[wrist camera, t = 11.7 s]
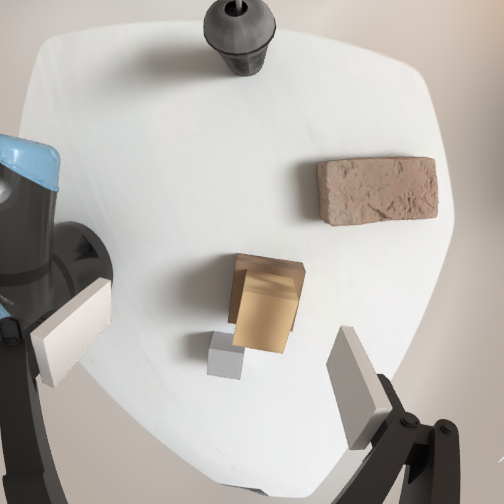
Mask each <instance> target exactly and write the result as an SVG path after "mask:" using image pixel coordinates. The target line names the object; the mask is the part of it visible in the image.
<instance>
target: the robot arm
mask: <svg viewBox="0 0 504 504" xmlns="http://www.w3.org/2000/svg"><path fill="white" fill-rule="evenodd" d="M59 170H60V156H59V153H58V151H57V150H56V149H55V148H53V147H52V146H49V145H46V144H42V143H39V142H35V141H31V140H26V139H22V138H18V137H13V136H8V135H3V134H0V429H1V439H2V448H3V455H4V461H5V467H6V475H4V476H3V479H2V480H3V486H4V491H5V496H6V500H7V504H68V502H67V500H66V497H65V494H64V492H63V489H62V486H61V483H60V480H59V477H58V474H57V471H56V468H55V465H54V461H53V458H52V454H51V450H50V447H49V443H48V439H47V435H46V430H45V426H44V422H43V416H42V411H41V405H40V400H39V394H38V387H37V381H36V379H35V378H36V377H37V375H38V374H39V373H40V376H41V379H42V383H44V384H47V385H49V386H51V387H53V388H56V386H57V385H58V384H59V383H60V381H61V380H62V379H63V378H64V377H65V375H66V374H67V373H68V372H69V371H70V369H71V368H72V367H73V366H74V364H75V363H76V362H77V361H78V360H79V359H80V357H81V356H82V355H83V354H84V353H85V351H86V350H87V349H88V348H89V347H90V346H91V344H92V343H93V342H94V341H95V340H96V339H97V337H98V336H99V335H100V334H101V333H102V332H103V331H104V329H105V328H106V327H107V326H108V325H109V324H110V323H111V288H112V282H113V270H112V264H111V260H110V257H109V254H108V252H107V250H106V248H105V246H104V244H103V243H102V241H101V240H100V238H99V237H98V236H97V235H96V234H95V233H94V232H93V231H92V230H91V229H89V228H88V227H86V226H84V225H82V224H80V223H76V222H65V223H62V224H59V225H56V226H54V215H55V206H56V198H57V192H59V187H58V180H59ZM326 366H327V369H328V373H329V376H330V380H331V383H332V387H333V391H334V394H335V398H336V401H337V405H338V409H339V412H340V416H341V420H342V423H343V427H344V431H345V435H346V439H347V443H348V446H349V450H361V449H363V450H364V449H365V448H366V447H367V446H368V444H369V443H370V441H371V444H372V447H373V448H372V450H371V451H370V452H369V453H368V455H367V456H366V457H365V459H364V460H363V461H362V464H361V465H360V467H359V468H358V470H357V471H356V472H355V474H354V475H353V476H352V478H351V479H350V480H349V482H348V483H347V484H346V486H345V487H344V488H343V489H342V491H341V492H340V493H339V495H338V496H337V497H336V498H335V499H334V501H333V502H332V503H331V504H382V503H383V501H384V500H385V498H386V496H387V494H388V493H389V491H390V489H391V487H392V486H393V484H394V482H395V480H396V478H397V476H398V474H399V472H400V470H401V468H402V466H403V465H404V464H405V465H406V468H405V474H404V480H403V485H402V491H401V495H400V500H399V504H460V449H459V434H458V429H457V427H456V425H455V424H454V423H452V422H451V421H449V420H446V419H440V420H438V421H437V422H436V423H435V424H434V426H428V425H423V424H420V421H419V419H418V418H417V417H416V416H415V415H413V414H411V413H408V412H405V410H404V408H403V406H402V404H401V402H400V400H399V398H398V397H397V394H396V392H395V390H394V389H393V386H392V384H391V382H390V380H389V379H387V378H386V377H385V376H384V375H383V374H376V372H375V370H374V368H373V366H372V364H371V362H370V360H369V358H368V356H367V354H366V352H365V350H364V348H363V346H362V344H361V342H360V340H359V338H358V336H357V334H356V332H355V330H354V328H353V327H348V326H340V329H339V332H338V334H337V337H336V340H335V342H334V345H333V348H332V350H331V353H330V355H329V358H328V361H327V363H326Z"/></svg>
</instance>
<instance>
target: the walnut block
mask: <svg viewBox="0 0 504 504" xmlns="http://www.w3.org/2000/svg"><path fill="white" fill-rule="evenodd" d="M247 269H249V270H254V271H259V272H264V273H269V274H274V275H279V276H284V277H289V278H293V280H294V284H295V289H296V293H297V297H298V304H299V300H300V296H301V291H302V286H303V282H304V277H305V272H306V271H305V268H304V266H303V263H301V262H294V261H287V260H281V259H274V258H267V257H261V256H254V255H247V254H241V253H238V256H237V259H236V263H235V271H234V278H233V286H232V294H231V301H230V309H229V317H228V323H233V324H236V322H237V316H238V311H239V306H240V301H241V297H242V292H243V287H244V282H245V277H246V272H247ZM297 309H298V305H297ZM297 309H296V312H295V315H294V319H293V322H292V326H291V329H290V331H291V332H292V330H293V326H294V322H295V318H296V313H297Z"/></svg>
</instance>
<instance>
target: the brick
mask: <svg viewBox="0 0 504 504" xmlns="http://www.w3.org/2000/svg"><path fill="white" fill-rule="evenodd" d="M317 166H318V167H317V172H318V173H317V179H318V182H319V184H318V185H319V193H320V196H319V211H320V217H321V219H322V220H324V222H325V223H328V224H330V225H331V226H348V225H361V224H366V223H374V222H377V221H386V220H409V219H412V220H416V219H427V218H436V217H437V214H438V203H439V202H438V182H437V176H436V167H435V160H434V159H432V158H428V157H388V158H357V159H345V160H335V161H326V162H320V163H318V165H317Z"/></svg>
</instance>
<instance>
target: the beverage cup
mask: <svg viewBox="0 0 504 504" xmlns="http://www.w3.org/2000/svg"><path fill="white" fill-rule="evenodd" d="M203 28H204V37H205V39H206V41H207V43H208V44H209V45H210V46H211V47H213V48H214V49H215V50H217V51H218V52H219V53H220V55H221V56H222V57H223V59H224V60H225V62H226V63H227V65H228V66H229V67H230V68H231V69H232V71H233V72H234V73H236V74H238V75H240V76H252V75H254V74H256V73H257V72H259V71H260V69H261V68H262V65H263V63H264V59H265V55H266V51H267V47H268V44H269V43H270V41H271V40H272V38H273V37H274V34H275V30H276V23H275V18H274V17H273V14H272V12H271V10H270V9H269V7H268V6H267V5H266V4H265V3H264V2H263V1H261V0H217V1H216V2H214V3H213V4H212V5H211V7H210V8H209V9H208V11H207V13H206V15H205V18H204V26H203Z"/></svg>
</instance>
